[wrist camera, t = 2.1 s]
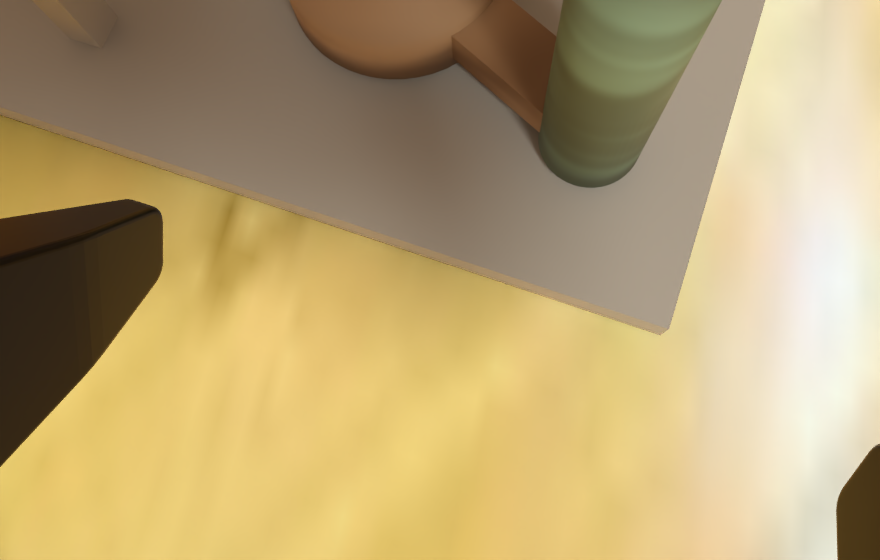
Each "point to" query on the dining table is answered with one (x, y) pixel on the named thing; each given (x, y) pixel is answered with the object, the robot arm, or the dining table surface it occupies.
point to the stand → (380, 140)
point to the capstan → (533, 64)
